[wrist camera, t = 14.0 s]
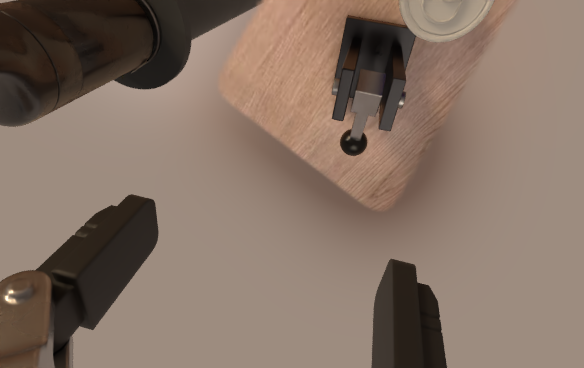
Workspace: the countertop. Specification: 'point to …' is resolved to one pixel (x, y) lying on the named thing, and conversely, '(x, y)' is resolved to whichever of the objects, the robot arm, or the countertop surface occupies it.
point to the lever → (363, 110)
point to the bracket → (373, 64)
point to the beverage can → (443, 17)
